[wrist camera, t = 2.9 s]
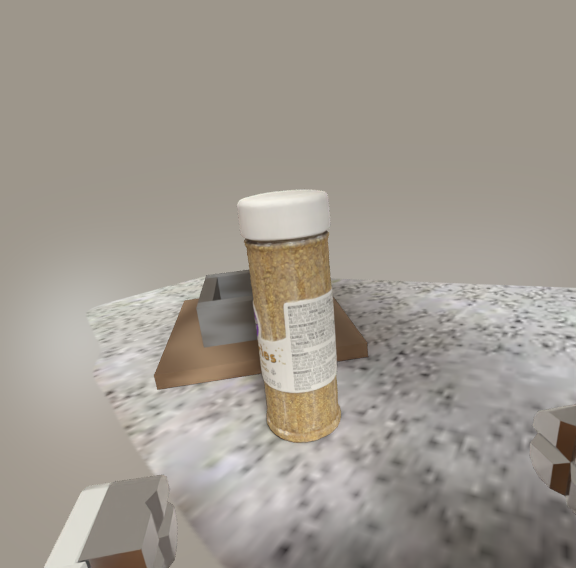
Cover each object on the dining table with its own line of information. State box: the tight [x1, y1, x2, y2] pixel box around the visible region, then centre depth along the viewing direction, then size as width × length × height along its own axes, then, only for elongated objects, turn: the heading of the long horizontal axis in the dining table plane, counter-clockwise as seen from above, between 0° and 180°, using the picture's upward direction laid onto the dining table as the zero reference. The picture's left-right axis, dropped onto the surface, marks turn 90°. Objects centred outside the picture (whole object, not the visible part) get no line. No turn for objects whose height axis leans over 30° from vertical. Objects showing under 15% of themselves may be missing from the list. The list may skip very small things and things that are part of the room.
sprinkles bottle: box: [237, 190, 341, 442], centre depth 20 cm, size 5×5×14 cm
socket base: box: [154, 270, 368, 390], centre depth 35 cm, size 16×16×5 cm
